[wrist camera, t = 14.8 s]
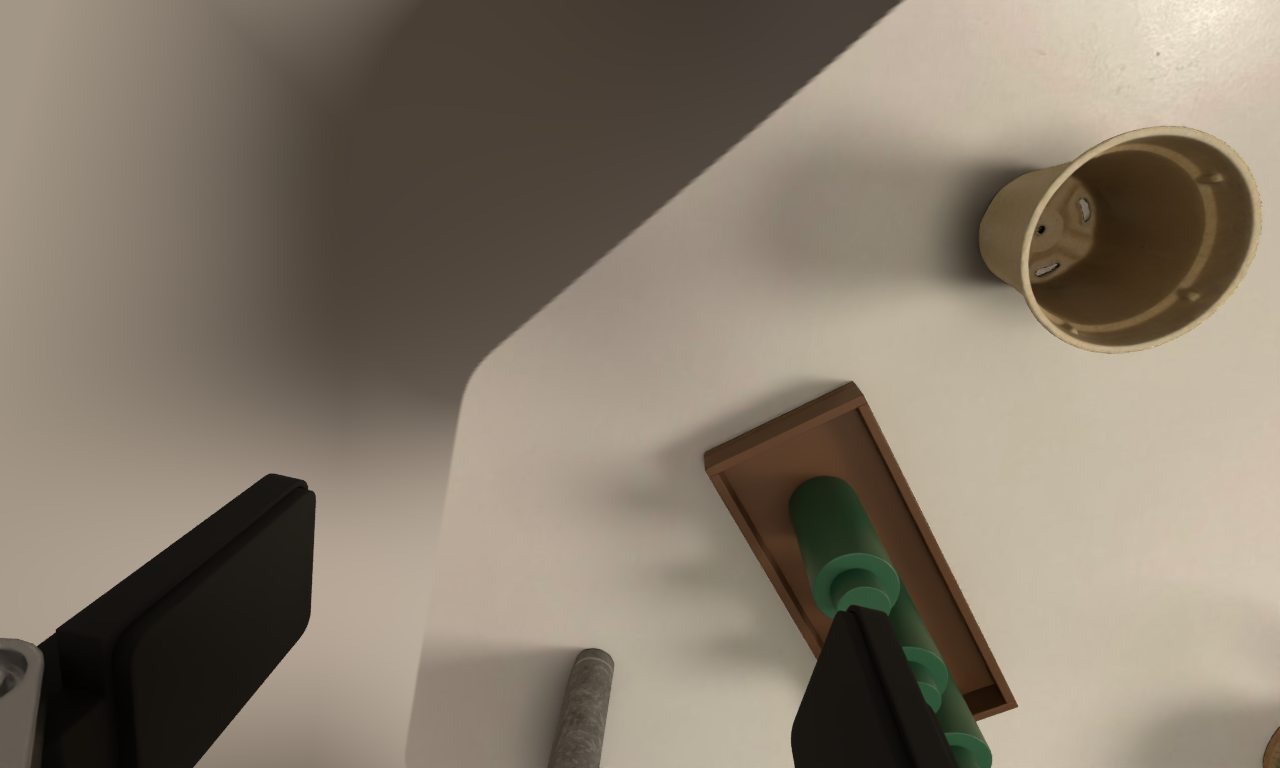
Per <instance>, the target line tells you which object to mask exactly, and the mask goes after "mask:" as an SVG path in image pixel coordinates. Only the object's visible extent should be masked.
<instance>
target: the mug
mask: <svg viewBox="0 0 1280 768" xmlns="http://www.w3.org/2000/svg"><path fill="white" fill-rule="evenodd" d="M1264 768H1280V728H1279V729H1278V731H1277V732H1276V733H1275V735H1274V736H1273V737H1272V739H1271V741H1270V743H1269V745H1268V747H1267V749H1266V752H1265V756H1264Z"/></svg>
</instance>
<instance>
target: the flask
mask: <svg viewBox="0 0 1280 768" xmlns="http://www.w3.org/2000/svg"><path fill="white" fill-rule="evenodd" d="M613 671H614V662H613V660H612V658H611V657H610V656H609V655H608V654H607V653H606V652H604V651H602V650H598V649H588V650H585V651H583V652H581V653H580V654H579V655H578V656H577V658H576V661H575V663H574V666H573V668H572V671H571V674H570V677H569V680H568V683H567V687H566V691H565V695H564V699H563V703H562V708H561V712H560V716H559V720H558V725H557V729H556V733H555V737H554V742H553V746H552V750H551V754H550V759H549V763H548V767H547V768H599V765H600V758H601V751H602V744H603V738H604V731H605V724H606V718H607V711H608V704H609V697H610V691H611V684H612V677H613Z"/></svg>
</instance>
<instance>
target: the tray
mask: <svg viewBox="0 0 1280 768" xmlns="http://www.w3.org/2000/svg"><path fill="white" fill-rule="evenodd" d="M704 461H705V471H706V473H707V474H708V476H709V477H710V480H711V481H712V483H713V485H714V486H715V488H716V490H717V491H718V493H719V495H720V496H721V498H722V500H723V502H724V503H725V505H726V507H727V508H728V510H729V512H730V513H731V515H732V517H733V518H734V520H735V522H736V523H737V525H738V527H739V529H740V530H741V532H742V534H743V535H744V537H745V539H746V540H747V542H748V544H749V545H750V547H751V549H752V551H753V552H754V554H755V556H756V557H757V559H758V561H759V562H760V564H761V566H762V567H763V569H764V571H765V573H766V574H767V576H768V578H769V579H770V581H771V583H772V584H773V586H774V588H775V589H776V591H777V593H778V594H779V596H780V598H781V600H782V601H783V603H784V605H785V606H786V608H787V610H788V611H789V613H790V615H791V616H792V618H793V620H794V622H795V623H796V625H797V627H798V628H799V630H800V632H801V633H802V635H803V637H804V638H805V640H806V642H807V643H808V645H809V647H810V649H811V650H812V652H813V654H814V655H815V657H816V659H817V660H818V658H819V655H820V653H821V650H822V648H823V645H824V642H825V640H826V637H827V635H828V632H829V630H830V627H831V624H832V622H833V619H831V618H829V617H828V616H826V615H825V614H824V613H823V612H822V611H821V610H820V609H819V608H818V606H817V605H816V603H815V601H814V598H813V594H812V591H811V587H810V584H809V580H808V577H807V573H806V570H805V567H804V563H803V560H802V556H801V553H800V549H799V546H798V542H797V539H796V535H795V532H794V528H793V525H792V521H791V518H790V514H789V502H790V499H791V496H792V494H793V493H794V491H795V490H796V489H797V488H798V487H799V486H800V485H801V484H802V483H804V482H805V481H807V480H809V479H812V478H815V477H820V476H831V477H836V478H839V479H841V480H843V481H845V482H847V483H848V484H849V485H850V486H852V488H853V489H854V490H855V492H856V494H857V496H858V497H859V499H860V501H861V503H862V505H863V507H864V509H865V511H866V513H867V515H868V517H869V519H870V521H871V523H872V525H873V527H874V529H875V531H876V533H877V535H878V537H879V539H880V541H881V543H882V545H883V546H884V548H885V550H886V552H887V554H888V556H889V558H890V560H891V562H892V564H893V566H894V567H895V568H896V570H897V571H898V573H899V575H900V577H901V579H902V581H903V583H904V585H905V587H906V589H907V591H908V593H909V595H910V597H911V599H912V601H913V602H914V604H915V606H916V608H917V610H918V612H919V614H920V616H921V618H922V620H923V622H924V624H925V626H926V628H927V630H928V632H929V634H930V636H931V638H932V639H933V641H934V642H935V644H936V646H937V648H938V650H939V652H940V653H941V655H942V657H943V659H944V661H945V663H946V665H947V667H948V669H949V671H950V673H951V675H952V677H953V679H954V681H955V683H956V685H957V686H958V688H959V690H960V692H961V694H962V696H963V698H964V700H965V702H966V704H967V706H968V708H969V710H970V712H971V714H972V716H973V718H974V719H975V721H979V720H981V719H984V718H987V717H990V716H993V715H996V714H999V713H1002V712H1005V711H1008V710H1011V709H1014V708H1017V707H1018V705H1017V703H1016V701H1015V699H1014V697H1013V695H1012V692H1011V690H1010V688H1009V686H1008V684H1007V682H1006V680H1005V678H1004V676H1003V674H1002V672H1001V670H1000V668H999V666H998V664H997V662H996V660H995V658H994V656H993V654H992V652H991V650H990V648H989V646H988V644H987V642H986V640H985V638H984V636H983V634H982V632H981V630H980V628H979V626H978V624H977V622H976V620H975V618H974V616H973V614H972V612H971V610H970V608H969V606H968V604H967V602H966V600H965V598H964V596H963V594H962V592H961V590H960V588H959V586H958V584H957V582H956V580H955V578H954V576H953V574H952V572H951V570H950V568H949V566H948V564H947V562H946V560H945V558H944V556H943V554H942V552H941V550H940V548H939V546H938V544H937V542H936V540H935V538H934V536H933V534H932V532H931V530H930V527H929V525H928V523H927V521H926V519H925V517H924V515H923V513H922V511H921V509H920V507H919V505H918V503H917V501H916V499H915V497H914V495H913V493H912V491H911V489H910V487H909V485H908V483H907V481H906V479H905V477H904V475H903V473H902V471H901V469H900V467H899V465H898V463H897V461H896V459H895V457H894V455H893V453H892V451H891V449H890V447H889V445H888V443H887V441H886V439H885V437H884V435H883V433H882V431H881V429H880V427H879V425H878V423H877V421H876V419H875V417H874V415H873V413H872V411H871V409H870V407H869V405H868V403H867V401H866V399H865V397H864V395H863V393H862V392H861V391H860V389H859V388H858V387H857V385H856V384H855V383H854V382H851V383H849V384H847V385H845V386H842V387H840V388H838V389H836V390H834V391H832V392H830V393H828V394H826V395H824V396H822V397H820V398H818V399H816V400H813V401H811V402H809V403H807V404H805V405H803V406H801V407H799V408H797V409H795V410H793V411H791V412H789V413H787V414H784V415H782V416H780V417H778V418H776V419H774V420H772V421H770V422H768V423H766V424H764V425H762V426H760V427H757V428H755V429H753V430H751V431H749V432H747V433H745V434H743V435H741V436H739V437H737V438H735V439H733V440H731V441H728V442H726V443H724V444H722V445H720V446H718V447H716V448H714V449H712V450H710V451H708V452H706V453H704Z"/></svg>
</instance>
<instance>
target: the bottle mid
mask: <svg viewBox="0 0 1280 768" xmlns="http://www.w3.org/2000/svg"><path fill="white" fill-rule="evenodd" d="M894 568H895V567H894ZM895 570H896V568H895ZM896 572H897V574H898V577H899V581H900V591H899V596H898V598H897V601H896V602H895V604H894V606H893V607H892V608H891V610H890V614H889V616H888V617H889V619H890V621H891V624H892V626H893V628H894V630H895V633H896V635H897V637H898V640H899V642H900V644H901V646H902V649H903V651H904V653H905V655H906V658H907V660H908V662H909V664H910V667H911V669H912V671H913V674H914V676H915V678H916V680H917V683H918V685H919V687H920V689H921V692H922V694H923V696H924V699H925V701H926V703H928V704H929V705H930V706H931V707H932V709H933V711H934V712H935V713H936V712H937V711H938V710H939V708H940V705H941V695H942V694H943V692H944V690H945V688H946V686H947V683H948V671H947V667H946V665H945V663H944V661H943V659H942V657H941V655H940V653H939V651H938V649H937V647H936V645H935V643H934V641H933V639H932V638H931V636H930V634H929V632H928V630H927V628H926V626H925V624H924V622H923V620H922V618H921V616H920V614H919V612H918V610H917V608H916V606H915V604H914V602H913V601H912V599H911V597H910V595H909V593H908V591H907V589H906V587H905V585H904V583H903V581H902V579H901V577H900V575H899V573H898V571H897V570H896Z"/></svg>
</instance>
